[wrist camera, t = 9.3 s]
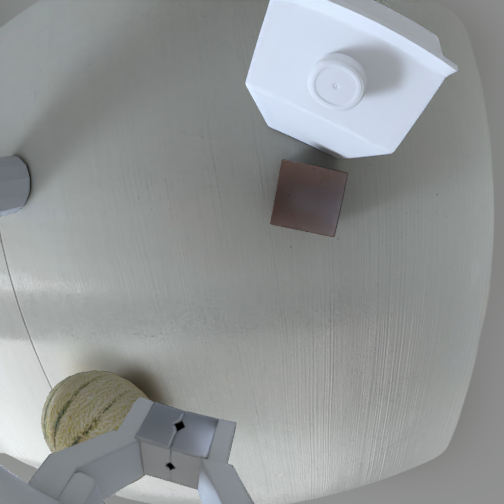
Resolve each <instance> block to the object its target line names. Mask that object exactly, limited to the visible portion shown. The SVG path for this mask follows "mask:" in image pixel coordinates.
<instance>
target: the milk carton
mask: <svg viewBox="0 0 504 504" xmlns="http://www.w3.org/2000/svg"><path fill="white" fill-rule="evenodd" d="M457 71H458V66H457V65H455V64H454V63H453V62H451V61H450V60H448V59H447V58H445V57H444V56H443V55H442V50H441V46H440V42H439V38H438V37H437V36H436V35H435V34H433V33H432V32H430V31H428V30H427V29H425V28H424V27H422V26H420V25H419V24H417V23H415V22H413V21H412V20H410V19H408V18H406V17H405V16H403V15H401V14H399V13H397V12H395V11H394V10H392V9H390V8H388V7H386V6H384V5H382V4H380V3H378V2H376V1H374V0H270V3H269V6H268V9H267V12H266V15H265V18H264V22H263V25H262V28H261V31H260V35H259V38H258V41H257V45H256V48H255V51H254V55H253V58H252V62H251V65H250V68H249V72H248V75H247V79H246V86H247V88H248V90H249V92H250V93H251V95H252V97H253V99H254V101H255V103H256V104H257V106H258V108H259V110H260V112H261V114H262V116H263V117H264V119H265V121H266V123H267V125H268V126H269V127H271V128H273V129H276V130H278V131H280V132H282V133H285V134H287V135H289V136H291V137H293V138H296V139H298V140H300V141H302V142H304V143H306V144H309V145H311V146H313V147H315V148H317V149H319V150H321V151H323V152H325V153H327V154H329V155H331V156H333V157H335V158H338V159H347V158H356V157H365V156H375V155H384V154H390V153H393V152H394V151H395V150H396V148H397V147H398V145H399V144H400V143H401V141H402V140H403V139H404V137H405V136H406V134H407V133H408V131H409V130H410V129H411V127H412V126H413V124H414V123H415V122H416V120H417V119H418V117H419V116H420V114H421V113H422V112H423V110H424V109H425V107H426V106H427V104H428V103H429V101H430V100H431V98H432V97H433V95H434V94H435V93H436V91H437V90H438V88H439V87H440V85H441V84H442V82H443V81H444V79H445V78H446V77H447V76H449V75H451V74H453V73H455V72H457Z"/></svg>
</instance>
